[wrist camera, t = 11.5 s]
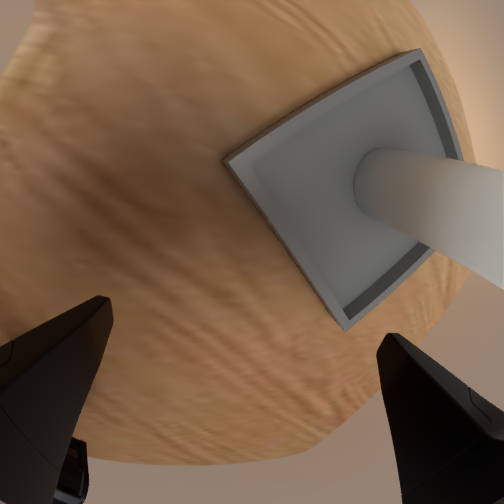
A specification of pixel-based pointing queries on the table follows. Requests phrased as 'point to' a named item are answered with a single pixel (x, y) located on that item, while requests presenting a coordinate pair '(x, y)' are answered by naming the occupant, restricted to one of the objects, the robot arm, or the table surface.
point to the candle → (438, 205)
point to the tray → (346, 180)
